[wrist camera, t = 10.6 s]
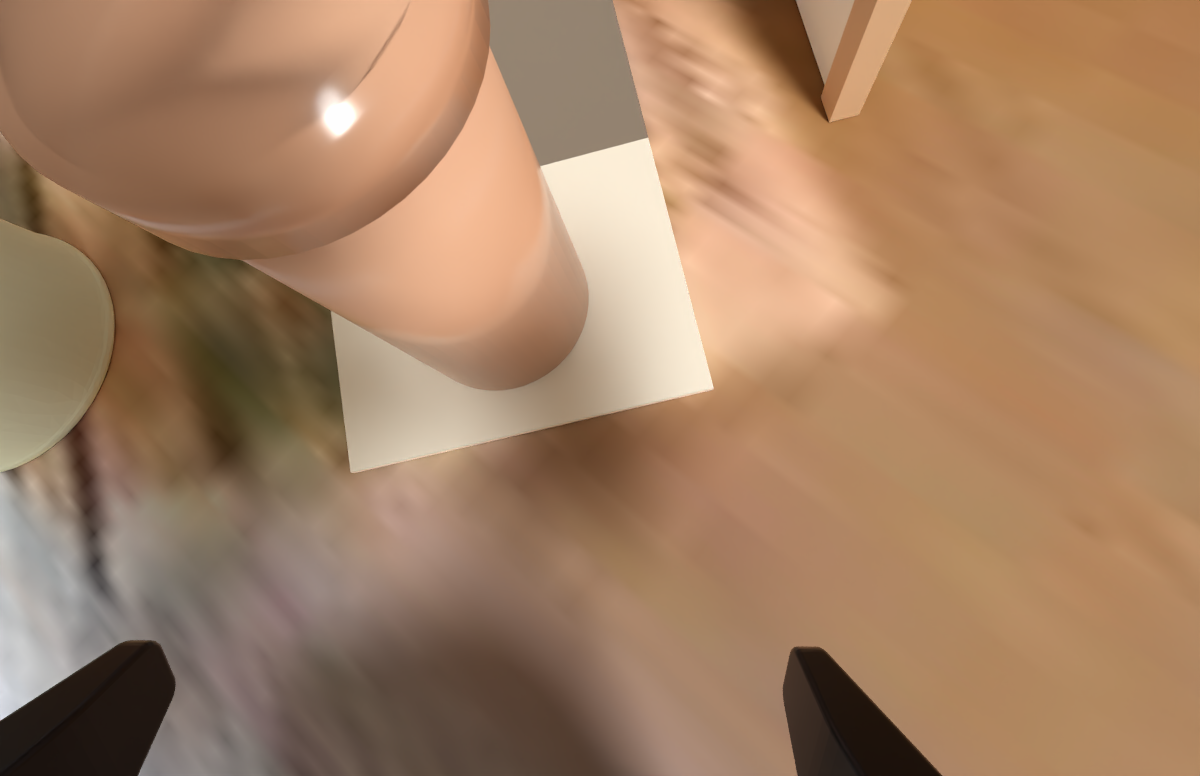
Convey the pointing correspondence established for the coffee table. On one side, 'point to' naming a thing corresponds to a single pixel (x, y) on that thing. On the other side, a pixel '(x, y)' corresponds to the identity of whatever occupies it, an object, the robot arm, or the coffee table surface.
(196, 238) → the tan tall round cup
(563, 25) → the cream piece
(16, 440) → the can
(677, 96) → the coffee table surface
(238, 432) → the coffee table surface
